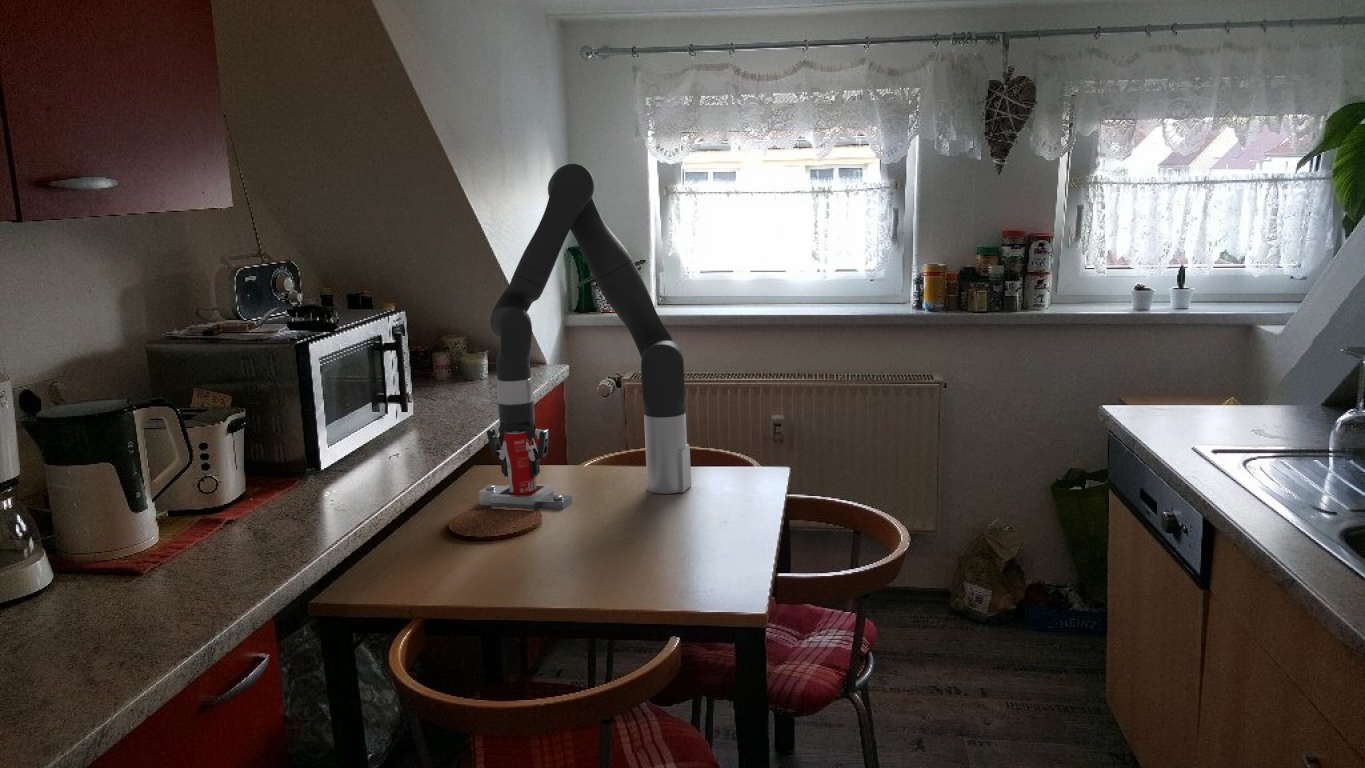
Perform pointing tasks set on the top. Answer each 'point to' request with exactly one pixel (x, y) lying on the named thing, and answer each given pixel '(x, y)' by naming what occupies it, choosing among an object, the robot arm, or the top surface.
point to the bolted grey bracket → (523, 498)
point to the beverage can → (519, 464)
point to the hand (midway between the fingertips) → (520, 475)
